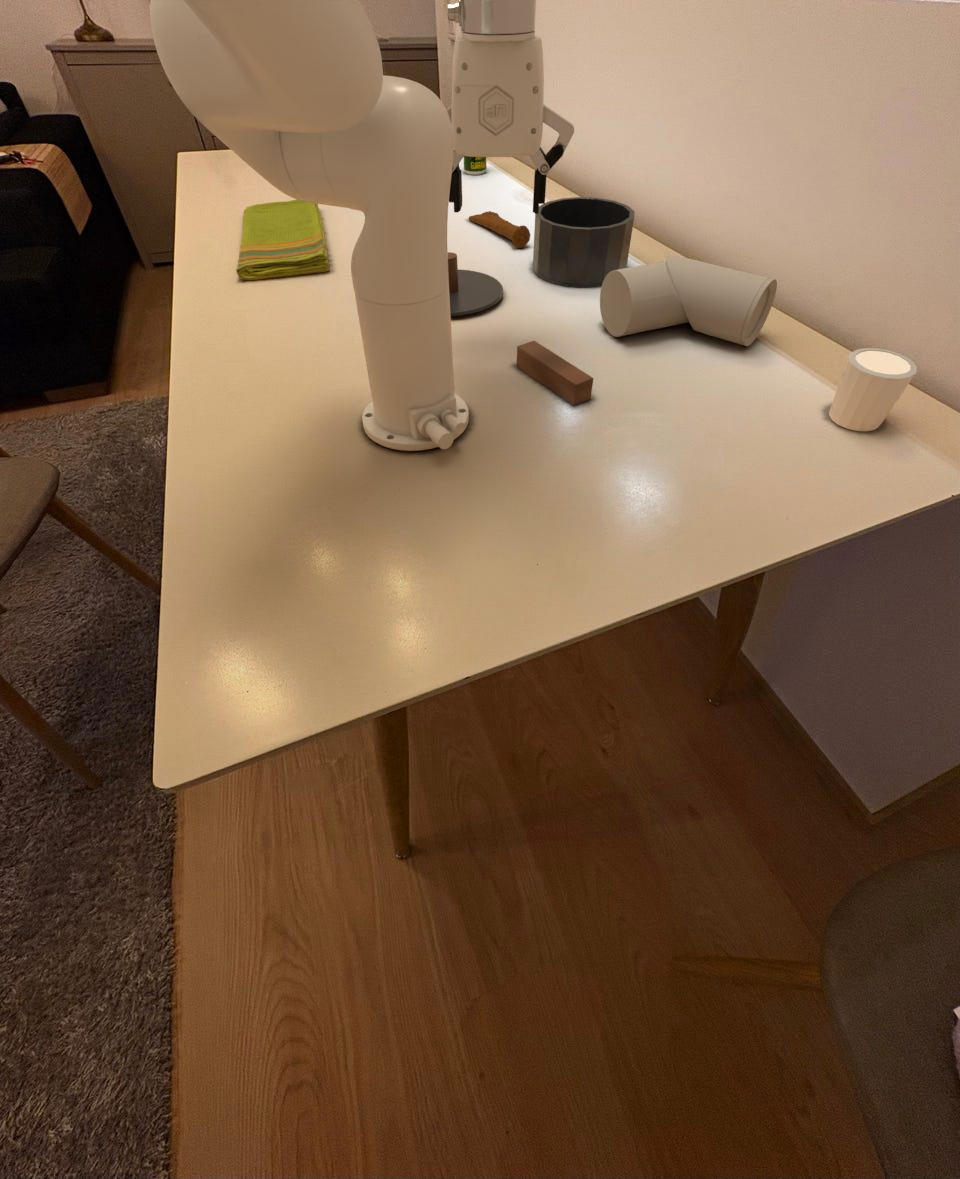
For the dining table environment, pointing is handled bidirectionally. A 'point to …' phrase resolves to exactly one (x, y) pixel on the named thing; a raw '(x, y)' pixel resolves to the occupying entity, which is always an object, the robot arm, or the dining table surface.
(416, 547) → the dining table surface
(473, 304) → the lid
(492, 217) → the primitive tool
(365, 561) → the dining table surface
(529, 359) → the stick
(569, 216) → the pot
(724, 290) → the l-shaped cylinder
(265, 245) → the dish towel
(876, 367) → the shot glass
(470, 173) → the green drink can
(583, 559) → the dining table surface
